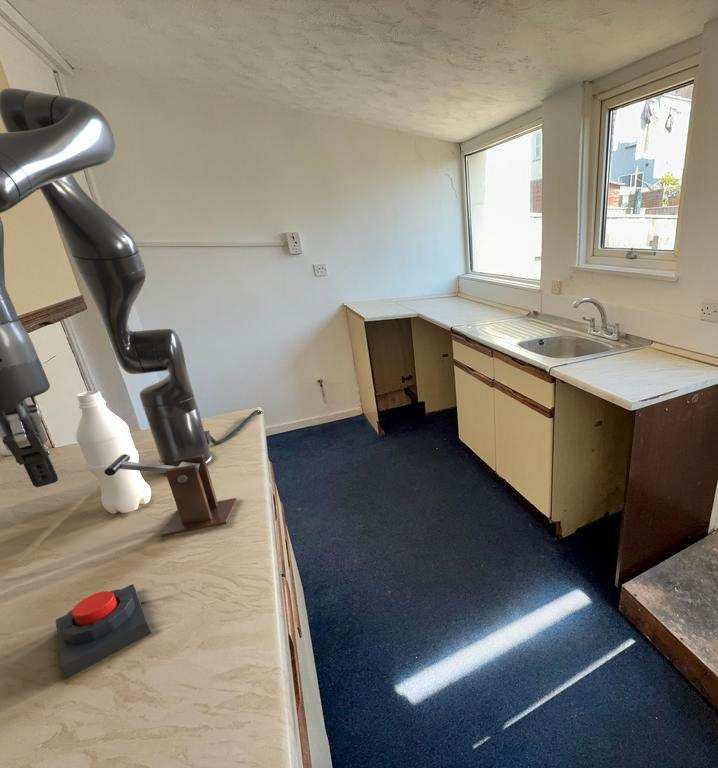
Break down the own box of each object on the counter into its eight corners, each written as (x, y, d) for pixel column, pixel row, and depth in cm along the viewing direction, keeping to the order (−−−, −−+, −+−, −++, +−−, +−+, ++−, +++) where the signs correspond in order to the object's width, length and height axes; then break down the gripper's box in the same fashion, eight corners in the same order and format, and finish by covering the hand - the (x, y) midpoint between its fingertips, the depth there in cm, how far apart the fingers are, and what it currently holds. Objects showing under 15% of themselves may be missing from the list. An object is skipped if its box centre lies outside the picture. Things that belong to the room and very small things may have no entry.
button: (74, 614, 53) (70, 604, 53) (115, 595, 56) (111, 586, 56) (77, 631, 51) (72, 621, 50) (119, 611, 54) (115, 601, 53)
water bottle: (125, 520, 77) (79, 402, 69) (97, 515, 78) (48, 398, 70) (163, 498, 84) (125, 388, 75) (136, 494, 85) (96, 385, 77)
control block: (61, 631, 55) (50, 609, 54) (137, 594, 61) (129, 574, 59) (67, 679, 49) (55, 656, 48) (151, 633, 55) (142, 611, 53)
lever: (103, 477, 67) (105, 465, 67) (119, 463, 72) (120, 451, 71) (191, 484, 72) (193, 473, 72) (200, 470, 77) (202, 459, 76)
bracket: (162, 539, 72) (141, 479, 68) (179, 513, 79) (161, 457, 75) (227, 526, 76) (210, 468, 71) (237, 502, 83) (223, 448, 78)
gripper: (40, 364, 46) (92, 489, 52) (34, 345, 54) (80, 455, 60) (-69, 380, 41) (3, 517, 47) (-58, 356, 49) (3, 476, 55)
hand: (46, 482), depth 54 cm, fingers closed
